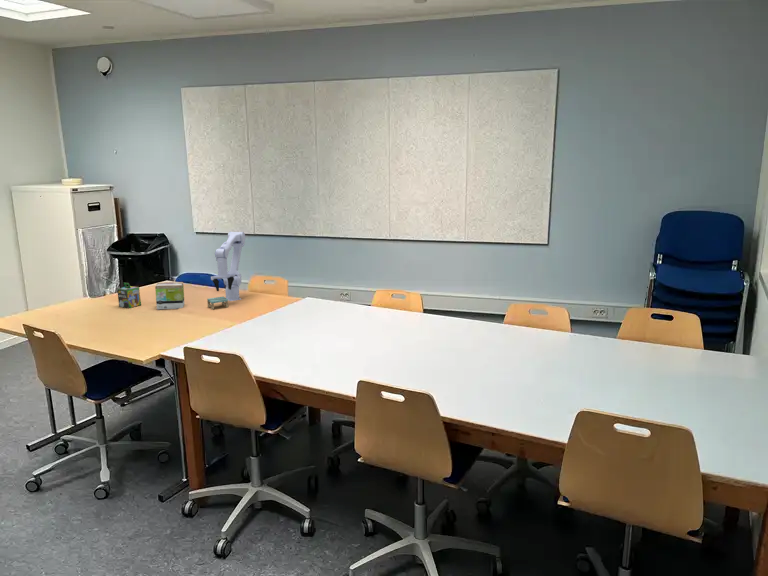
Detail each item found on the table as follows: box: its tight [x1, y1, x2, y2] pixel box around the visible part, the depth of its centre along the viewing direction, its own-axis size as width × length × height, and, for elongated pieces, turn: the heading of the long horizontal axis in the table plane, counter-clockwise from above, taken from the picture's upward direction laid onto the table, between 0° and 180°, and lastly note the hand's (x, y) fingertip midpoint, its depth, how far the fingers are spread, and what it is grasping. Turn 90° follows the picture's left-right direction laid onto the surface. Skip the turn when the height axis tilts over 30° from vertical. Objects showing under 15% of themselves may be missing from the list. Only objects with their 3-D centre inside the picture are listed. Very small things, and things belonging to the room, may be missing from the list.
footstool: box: [206, 296, 229, 311], centre depth 338 cm, size 7×10×5 cm
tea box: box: [154, 281, 185, 310], centre depth 339 cm, size 15×10×15 cm, turn 104°
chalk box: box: [116, 282, 142, 309], centre depth 341 cm, size 9×9×15 cm
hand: (223, 290), depth 344 cm, fingers open, 7 cm apart
